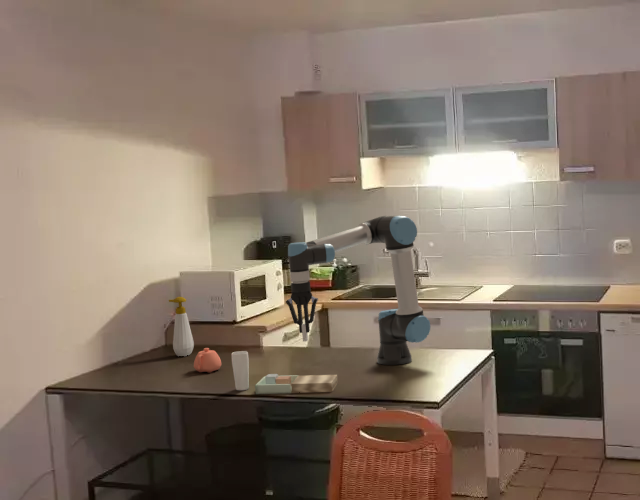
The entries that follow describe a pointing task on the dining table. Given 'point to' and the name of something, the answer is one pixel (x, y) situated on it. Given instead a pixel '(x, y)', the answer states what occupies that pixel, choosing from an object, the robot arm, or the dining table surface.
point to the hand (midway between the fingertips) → (305, 340)
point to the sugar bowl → (207, 361)
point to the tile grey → (271, 378)
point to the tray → (273, 387)
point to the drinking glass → (241, 369)
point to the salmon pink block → (283, 380)
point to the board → (314, 383)
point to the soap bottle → (182, 330)
